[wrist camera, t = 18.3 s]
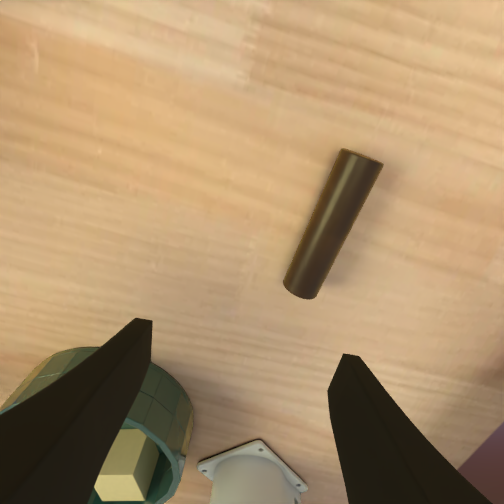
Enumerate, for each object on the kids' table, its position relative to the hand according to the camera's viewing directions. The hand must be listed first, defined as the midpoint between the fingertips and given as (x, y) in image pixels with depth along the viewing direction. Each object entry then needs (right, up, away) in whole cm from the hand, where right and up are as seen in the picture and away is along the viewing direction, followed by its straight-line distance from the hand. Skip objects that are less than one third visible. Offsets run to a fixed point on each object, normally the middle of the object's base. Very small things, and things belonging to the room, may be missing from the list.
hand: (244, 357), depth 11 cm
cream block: (-11, -15, +18) cm, 26 cm away
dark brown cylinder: (+3, +2, +9) cm, 10 cm away
